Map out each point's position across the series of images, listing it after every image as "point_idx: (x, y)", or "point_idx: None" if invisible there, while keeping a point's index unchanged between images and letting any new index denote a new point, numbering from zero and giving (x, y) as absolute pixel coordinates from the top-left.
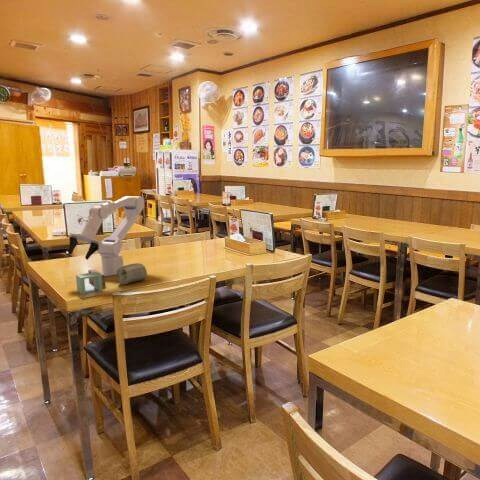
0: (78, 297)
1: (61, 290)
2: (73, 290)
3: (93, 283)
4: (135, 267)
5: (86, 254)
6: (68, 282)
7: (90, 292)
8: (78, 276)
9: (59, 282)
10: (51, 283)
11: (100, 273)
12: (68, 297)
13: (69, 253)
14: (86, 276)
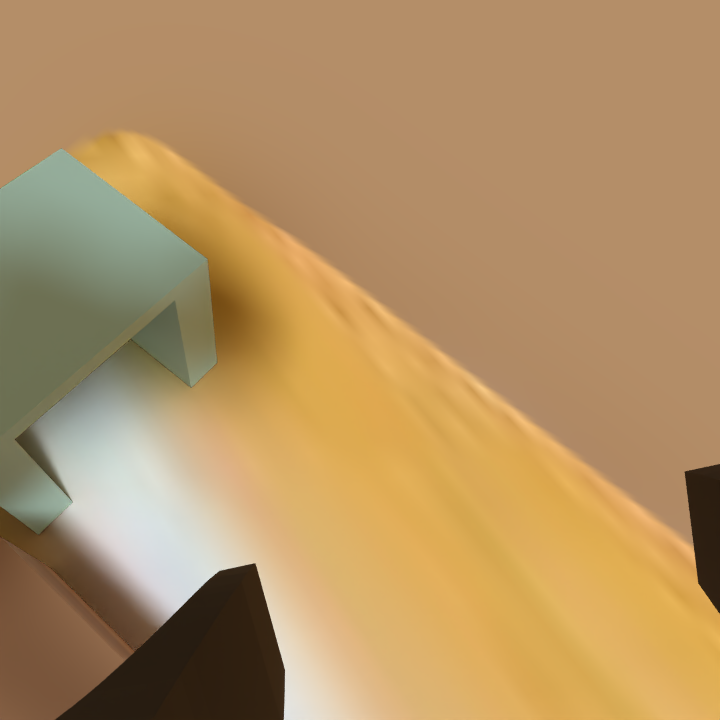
0: None
1: (398, 363)
2: (274, 381)
3: None
4: None
5: (226, 591)
6: (564, 678)
7: None
8: (129, 203)
9: (666, 649)
10: None
11: (7, 716)
12: (187, 193)
13: (687, 477)
14: (10, 212)
